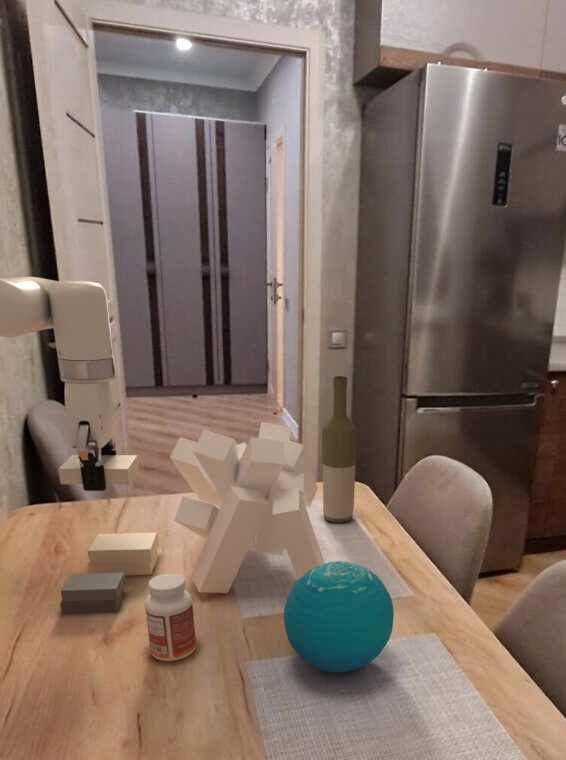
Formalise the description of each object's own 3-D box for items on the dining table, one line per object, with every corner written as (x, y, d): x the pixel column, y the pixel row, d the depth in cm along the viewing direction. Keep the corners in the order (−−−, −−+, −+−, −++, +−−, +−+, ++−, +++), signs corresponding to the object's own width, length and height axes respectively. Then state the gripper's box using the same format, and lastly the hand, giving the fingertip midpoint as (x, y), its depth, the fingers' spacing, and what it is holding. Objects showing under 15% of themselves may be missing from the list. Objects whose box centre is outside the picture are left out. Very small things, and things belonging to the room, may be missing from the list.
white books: (89, 577, 113) (85, 550, 111) (99, 558, 119) (96, 533, 118) (153, 575, 115) (150, 549, 113) (160, 557, 121) (157, 532, 119)
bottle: (335, 528, 137) (336, 382, 126) (315, 517, 142) (315, 376, 130) (361, 520, 142) (365, 378, 130) (341, 510, 146) (343, 372, 135)
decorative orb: (413, 667, 94) (420, 572, 88) (328, 711, 84) (329, 607, 78) (346, 622, 104) (348, 534, 98) (263, 657, 94) (260, 562, 88)
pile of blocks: (151, 563, 130) (78, 431, 103) (272, 481, 143) (235, 345, 116) (258, 678, 114) (204, 557, 87) (384, 574, 126) (372, 440, 99)
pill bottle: (196, 636, 98) (191, 569, 94) (195, 660, 93) (190, 590, 88) (152, 640, 97) (144, 572, 92) (148, 665, 91) (140, 593, 87)
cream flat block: (60, 484, 102) (58, 468, 101) (74, 469, 108) (72, 454, 107) (129, 484, 103) (127, 469, 102) (138, 469, 110) (137, 455, 109)
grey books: (61, 614, 102) (57, 591, 100) (72, 596, 107) (68, 573, 105) (119, 612, 103) (116, 589, 102) (126, 594, 108) (124, 572, 107)
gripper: (77, 358, 107) (91, 464, 113) (40, 380, 91) (59, 501, 97) (127, 359, 108) (138, 464, 114) (98, 381, 92) (113, 501, 99)
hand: (101, 480), depth 106 cm, fingers closed on cream flat block, 7 cm apart
